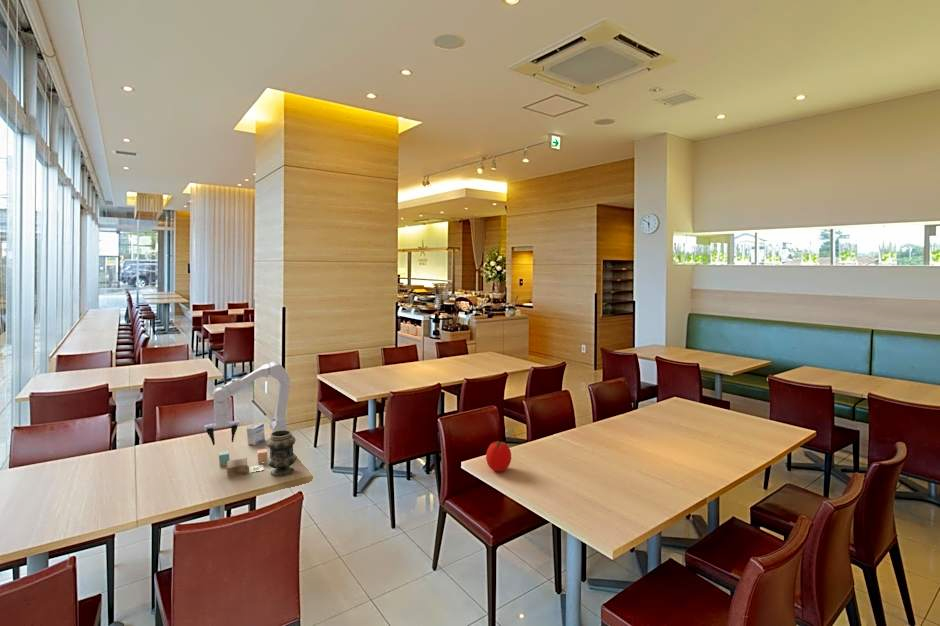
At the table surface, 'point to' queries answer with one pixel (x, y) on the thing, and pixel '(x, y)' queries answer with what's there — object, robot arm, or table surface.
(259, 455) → the terracotta block
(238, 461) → the walnut block
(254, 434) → the medicine box
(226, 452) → the teal block
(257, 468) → the card
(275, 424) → the robot arm
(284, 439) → the apothecary jar
